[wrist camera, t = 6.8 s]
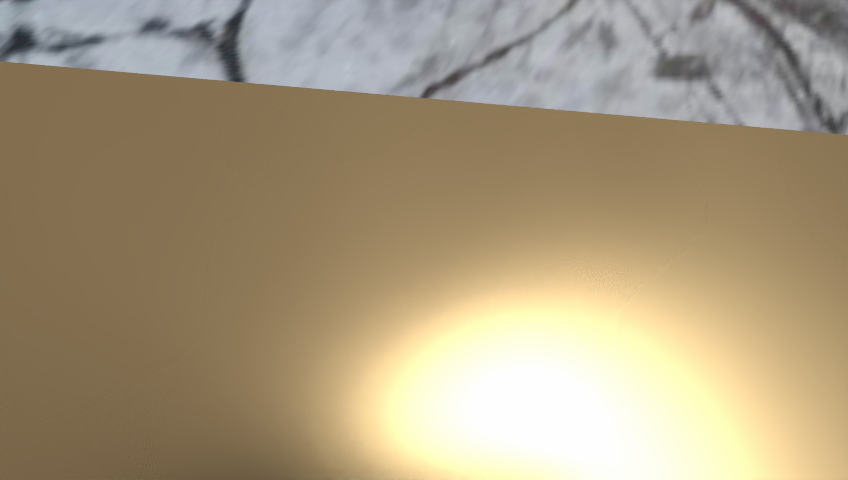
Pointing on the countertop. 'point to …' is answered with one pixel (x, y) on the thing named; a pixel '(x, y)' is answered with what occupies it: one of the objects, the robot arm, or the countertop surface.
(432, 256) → the tan square peg
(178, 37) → the countertop surface
